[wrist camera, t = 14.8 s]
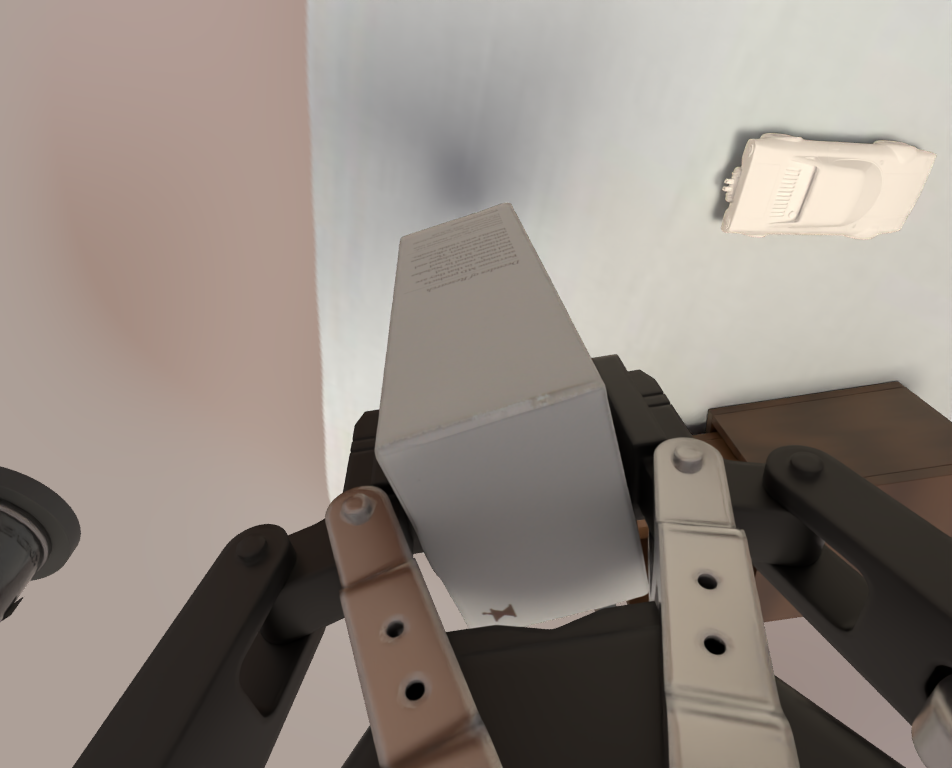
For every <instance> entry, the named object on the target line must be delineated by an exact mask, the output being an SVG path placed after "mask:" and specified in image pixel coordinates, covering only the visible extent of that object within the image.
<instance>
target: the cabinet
mask: <svg viewBox="0 0 952 768" xmlns="http://www.w3.org/2000/svg"><path fill="white" fill-rule="evenodd" d="M712 432H718V433H719V434H720V435H721V437H722V438H723V440H724V441H725V442H726V444H727V445H728V447H729V448H730V449H731V451H732V452H733V454H734V455H735V456H736V458H737V459H738V461H742V462H755V463H766V460H767V457H768V455H769V454H770V452H772V451H773V450H774V449H776V448H779V447H782V446H787V445H802V446H808V447H812V448H816V449H818V450H821V451H823V452H825V453H828V454H829V455H831V456H832V457H834V458H835V459H837V460H838V461H840V462H841V463H843V464H844V465H846V466H847V467H849V468H850V469H852V470H853V471H854V472H856V473H857V474H859V475H860V476H862V477H863V478H865V479H866V480H868V481H869V482H871V483H872V484H874V485H875V486H876V487H878V488H879V489H881V490H882V491H884V492H885V493H887V494H888V495H890V496H891V497H893V498H894V499H895V500H897V501H898V502H900V503H901V504H903V505H904V506H906V507H907V508H909V509H910V510H912V511H913V512H915V513H916V514H917V515H919V516H920V517H922V518H923V519H925V520H926V521H928V522H929V523H931V524H932V525H934V526H935V527H937V528H938V529H939V530H941V531H942V532H944V533H945V534H947V535H948V536H950V537H951V538H952V422H951V421H950V420H948V419H947V418H946V417H944V416H943V415H942V414H941V413H939V412H938V411H937V410H935V409H934V408H933V407H931V406H930V405H929V404H927V403H926V402H925V401H923V400H922V399H921V398H919V397H918V396H917V395H915V394H914V393H913V392H911V391H910V390H909V389H907V388H906V387H905V386H903V385H902V384H901V383H899V382H890V383H883V384H876V385H870V386H863V387H856V388H849V389H843V390H836V391H829V392H822V393H816V394H809V395H802V396H795V397H789V398H782V399H775V400H768V401H762V402H755V403H748V404H741V405H735V406H728V407H721V408H714V409H709V411H708V418H707V425H706V432H705V433H712ZM824 544H825V545H826V546H827V547H829V548H830V549H831V550H832V551H833V552H835V553H836V554H837V555H838V556H839V557H840V558H842V559H843V560H844V561H845V562H846V563H848V564H849V565H850V566H851V567H852V568H853V569H855V570H856V571H857V572H858V573H859V574H861V573H860V571H859V570H858V569H857V568H856V567H855V566H853V565H852V564H851V563H850V562H849V561H847V560H846V559H845V558H844V557H843V556H841V555H840V554H839V553H838V552H837V551H836V550H834V549H833V548H832V547H831V546H830V545H828V544H827V543H826V542H825V543H824ZM752 567H753V572H754V577H755V582H756V587H757V592H758V597H759V602H760V607H761V612H762V617H763V622H769V621H776V620H782V619H790V618H797V617H803V616H802V615H801V614H800V613H799V612H798V611H797V610H796V609H795V608H794V607H793V606H792V605H791V604H790V603H789V601H788V600H787V599H786V598H785V597H784V596H783V595H782V594H781V593H780V592H779V591H778V590H777V589H776V588H775V587H774V586H773V585H772V584H771V583H770V582H769V581H768V580H767V579H766V578H765V577H764V576H763V575H762V574H761V573H760V572H759V571H758V570H757V569H756V568H755V567H754V566H753V565H752ZM861 575H862V574H861ZM862 576H863V575H862Z"/></svg>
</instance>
